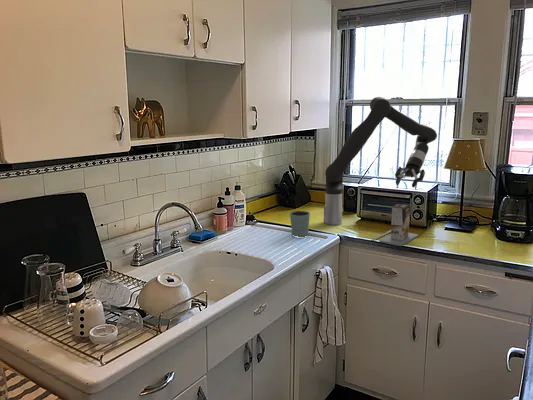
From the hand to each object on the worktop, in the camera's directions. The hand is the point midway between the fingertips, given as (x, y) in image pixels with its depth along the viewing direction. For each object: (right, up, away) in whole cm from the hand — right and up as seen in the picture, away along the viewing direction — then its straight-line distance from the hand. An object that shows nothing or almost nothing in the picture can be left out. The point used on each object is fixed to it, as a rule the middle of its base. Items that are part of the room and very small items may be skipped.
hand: (404, 185), depth 231 cm
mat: (-5, -27, -7) cm, 28 cm away
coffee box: (-5, -26, -7) cm, 27 cm away
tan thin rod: (-12, -25, -1) cm, 28 cm away
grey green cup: (-53, -26, +2) cm, 59 cm away
